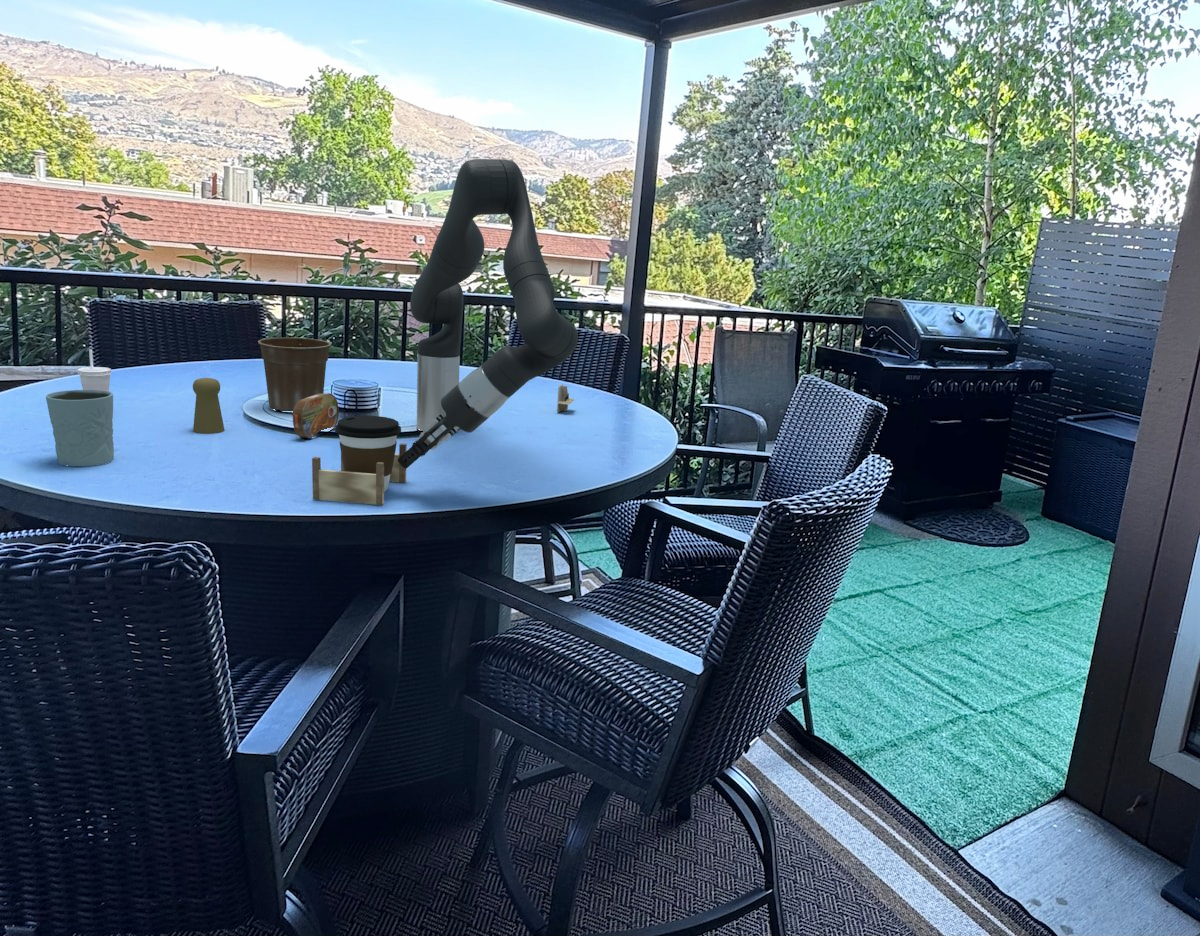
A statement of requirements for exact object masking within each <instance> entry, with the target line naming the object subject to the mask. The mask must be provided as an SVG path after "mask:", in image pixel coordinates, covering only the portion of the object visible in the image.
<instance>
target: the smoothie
mask: <svg viewBox="0 0 1200 936" xmlns="http://www.w3.org/2000/svg"><path fill="white" fill-rule="evenodd" d="M88 353H89V354H88V355H89V366H87V367H80V368H78V369H77V375H78V376H79V379H80V384H81V387H82V388H81V389H82V390H99V391H107V392H110V385H111V384H110V383H111V382H110V381H111V375H112V374H113V373H112V368H109V367H104V366H94V360H93V359H94V358H93V349H92V348H90V349H88Z"/></svg>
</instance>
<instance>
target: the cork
mask: <svg viewBox="0 0 1200 936" xmlns="http://www.w3.org/2000/svg"><path fill="white" fill-rule="evenodd" d="M192 390H193V392H194V394H195V406H194V416H193V426H192V431H193V432H194V434H195V433H196V434H204V435H205V434H206V435H207V434H209V435H213V434H220V433H223V432H225V424H224V420H223V415H222V409H221V404H220V400H219V399H220V397H219V393H220V392H221V383H220V382H219V380H217V378H212V377H202V378H196V379H195V380H194V381H193V384H192Z"/></svg>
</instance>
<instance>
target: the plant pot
mask: <svg viewBox="0 0 1200 936" xmlns="http://www.w3.org/2000/svg"><path fill="white" fill-rule="evenodd" d="M257 343H258V345H260V346H259V347H260V352H261V359H262V360H263V365H264V366H263V367H264V374H265V382H266V383H265V384H266V389H267V390H266V391H267V399H268V408H269V407H270V408H271V409H275V410H280V411H281V412H282V411H293V409H294V407H295V405H296V403H297V402H298V401H299V400H301V399H304V398H308V397H311V396H313V395H316V394H325V391H324V390H325V379H326V370H327V369H326V368H327V362H328V360H329V353H330V348H331V346H332V343H331V342H329V341H326V340H322V339H315V338H308V337H305V338H304V337H269V338H268V337H267V338H262V339H258V341H257ZM270 408H269V409H270ZM271 409H270V410H271Z"/></svg>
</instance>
